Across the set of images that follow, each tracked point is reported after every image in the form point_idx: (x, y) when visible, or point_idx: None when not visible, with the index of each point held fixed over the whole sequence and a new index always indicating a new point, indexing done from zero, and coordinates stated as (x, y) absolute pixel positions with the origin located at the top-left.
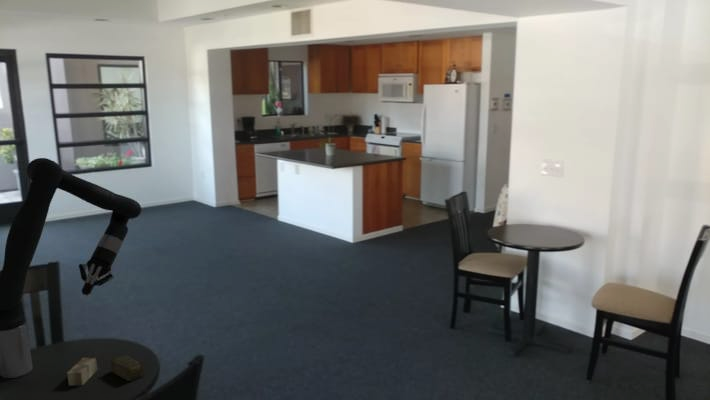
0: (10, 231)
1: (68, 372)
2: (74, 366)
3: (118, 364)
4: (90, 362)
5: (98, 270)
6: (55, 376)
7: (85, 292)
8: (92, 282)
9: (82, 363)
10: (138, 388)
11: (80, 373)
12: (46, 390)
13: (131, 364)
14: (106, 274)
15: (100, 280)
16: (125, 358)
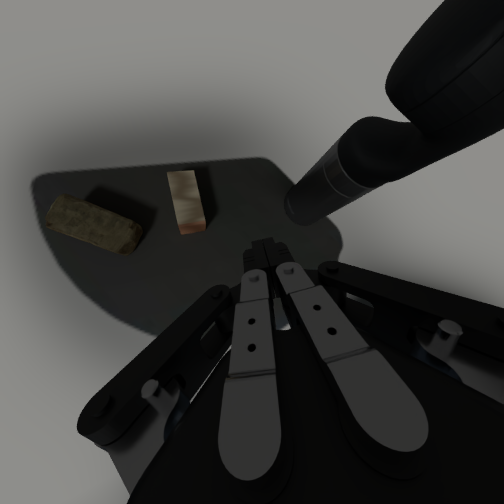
0: None
1: (192, 171)
2: (197, 191)
3: (103, 209)
4: (176, 209)
5: (250, 376)
6: (237, 203)
7: (256, 242)
8: (251, 280)
9: (190, 203)
10: (45, 188)
11: (167, 172)
12: (218, 167)
13: (67, 213)
14: (171, 409)
15: (198, 314)
16: (104, 236)
